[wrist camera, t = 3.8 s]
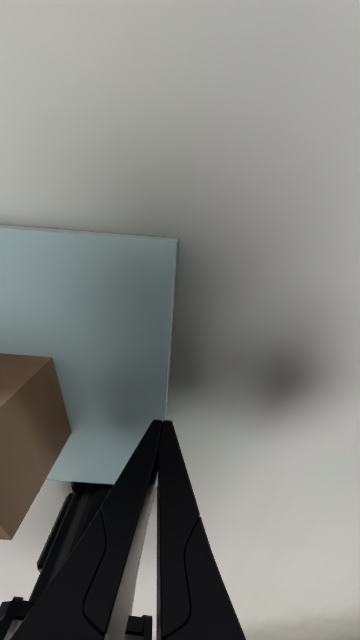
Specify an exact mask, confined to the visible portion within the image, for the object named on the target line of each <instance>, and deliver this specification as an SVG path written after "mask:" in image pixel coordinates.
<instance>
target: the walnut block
mask: <svg viewBox="0 0 360 640" xmlns="http://www.w3.org/2000/svg"><path fill="white" fill-rule="evenodd" d="M71 433H72V431H71V427H70V424H69V420H68V416H67V412H66V408H65V404H64V400H63V396H62V393H61V389H60V385H59V381H58V377H57V373H56V369H55V366H54V362H53V358H52V357H42V356H29V355H16V354H3V353H0V539H3V540H12V538H13V536H14V535H15V533H16V531H17V529H18V528H19V526H20V524H21V522H22V520H23V519H24V517H25V515H26V513H27V512H28V510H29V508H30V506H31V504H32V503H33V501H34V499H35V497H36V496H37V494H38V492H39V490H40V488H41V487H42V485H43V483H44V481H45V479H46V478H47V476H48V474H49V472H50V471H51V469H52V467H53V465H54V463H55V462H56V460H57V458H58V456H59V455H60V453H61V451H62V449H63V447H64V446H65V444H66V442H67V440H68V439H69V437H70V435H71Z"/></svg>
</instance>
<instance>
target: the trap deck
mask: <svg viewBox="0 0 360 640" xmlns="http://www.w3.org/2000/svg"><path fill="white" fill-rule="evenodd" d="M177 244H178V239H177V238H164V237H152V236H139V235H127V234H114V233H101V232H89V231H76V230H64V229H51V228H39V227H26V226H14V225H1V224H0V353H3V354H16V355H29V356H42V357H52V358H53V362H54V366H55V369H56V373H57V377H58V381H59V385H60V389H61V393H62V396H63V400H64V404H65V408H66V412H67V416H68V420H69V424H70V427H71V431H72V433H71V435H70V437H69V439H68V440H67V442H66V444H65V446H64V447H63V449H62V451H61V453H60V455H59V456H58V458H57V460H56V462H55V463H54V465H53V467H52V469H51V471H50V472H49V474H48V476H47V478H46V480H60V481H73V482H87V483H100V484H115V482H116V480H117V479H118V477H119V475H120V474H121V472H122V470H123V469H124V467H125V465H126V464H127V462H128V460H129V459H130V457H131V455H132V454H133V452H134V450H135V449H136V447H137V445H138V444H139V442H140V440H141V439H142V437H143V435H144V434H145V432H146V430H147V429H148V427H149V425H150V424H151V422H152V421H153V420H154V419H157V420H162V422H163V420H167V405H168V389H169V373H170V357H171V341H172V325H173V309H174V292H175V276H176V260H177ZM157 479H158V474H157ZM155 488H157V481H156V486H155Z"/></svg>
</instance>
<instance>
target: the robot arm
mask: <svg viewBox="0 0 360 640" xmlns="http://www.w3.org/2000/svg"><path fill="white" fill-rule="evenodd" d="M157 474H158V479H157ZM156 481H157V640H246V638H245V636H244V633H243V631H242V628H241V626H240V623H239V621H238V618H237V616H236V613H235V611H234V608H233V605H232V603H231V600H230V598H229V595H228V593H227V590H226V588H225V585H224V583H223V580H222V578H221V575H220V572H219V570H218V567H217V564H216V562H215V559H214V556H213V554H212V551H211V548H210V544H209V541H208V538H207V535H206V532H205V529H204V526H203V522H202V519H201V517H200V513H199V509H198V506H197V503H196V499H195V496H194V493H193V489H192V486H191V483H190V479H189V476H188V473H187V469H186V466H185V463H184V459H183V456H182V453H181V449H180V446H179V443H178V439H177V436H176V433H175V429H174V426H173V423H172V421H170V420H163V422H162V420H157V419H154V420H153V421H152V422H151V424H150V425H149V427H148V429H147V430H146V432H145V434H144V435H143V437H142V439H141V440H140V442H139V444H138V445H137V447H136V449H135V450H134V452H133V454H132V455H131V457H130V459H129V460H128V462H127V464H126V465H125V467H124V469H123V470H122V472H121V474H120V475H119V477H118V479H117V480H116V482H115V484H100V483H87V482H73V481H71V486H72V489H73V492H74V493H70V494H69V495H68V496H67V497H66V499H65V501H64V504H63V506H62V508H61V510H60V513H59V515H58V517H57V519H56V522H55V524H54V526H53V528H52V531H51V533H50V535H49V537H48V540H47V542H46V544H45V546H44V548H43V551H42V553H41V555H40V557H39V560H38V562H37V568H38V570H39V572H40V575H39V577H38V580H37V582H36V584H35V587H34V589H33V591H32V594H31V596H30V599H29V601H23V597H16V596H14V598H13V600H12V601H8V602H2V604H1V606H0V640H152V616H148V615H143V616H142V617H136V616H131V614H132V607H133V600H134V593H135V586H136V579H137V573H138V568H139V563H140V558H141V553H142V549H143V544H144V539H145V534H146V529H147V524H148V520H149V515H150V510H151V505H152V500H153V496H154V491H155V486H156Z"/></svg>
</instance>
